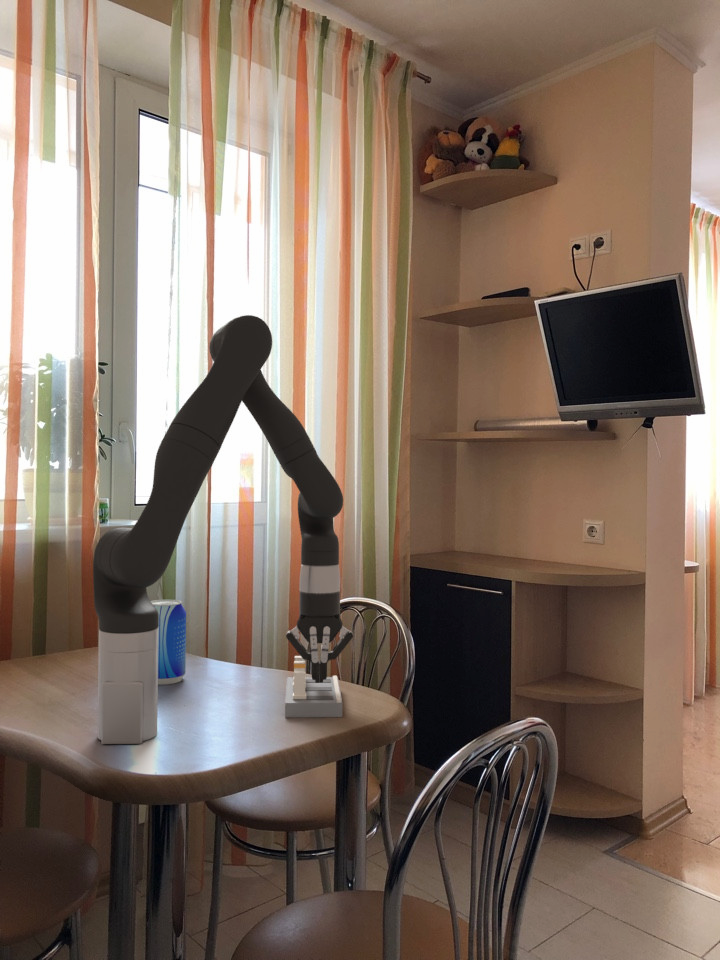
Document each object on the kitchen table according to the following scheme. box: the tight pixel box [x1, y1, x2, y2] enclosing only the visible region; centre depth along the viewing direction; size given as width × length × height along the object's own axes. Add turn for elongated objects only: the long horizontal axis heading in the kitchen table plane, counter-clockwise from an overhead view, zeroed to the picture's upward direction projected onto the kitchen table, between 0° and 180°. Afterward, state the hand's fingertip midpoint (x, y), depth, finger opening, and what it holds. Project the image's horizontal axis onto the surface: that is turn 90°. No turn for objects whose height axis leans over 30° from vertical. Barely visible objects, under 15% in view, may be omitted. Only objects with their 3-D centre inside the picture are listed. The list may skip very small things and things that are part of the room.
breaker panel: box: [284, 655, 343, 718], centre depth 150 cm, size 18×10×7 cm, turn 4°
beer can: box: [150, 599, 187, 686], centre depth 165 cm, size 8×8×16 cm
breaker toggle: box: [293, 660, 306, 688], centre depth 150 cm, size 2×2×5 cm
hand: (319, 681), depth 150 cm, fingers closed
